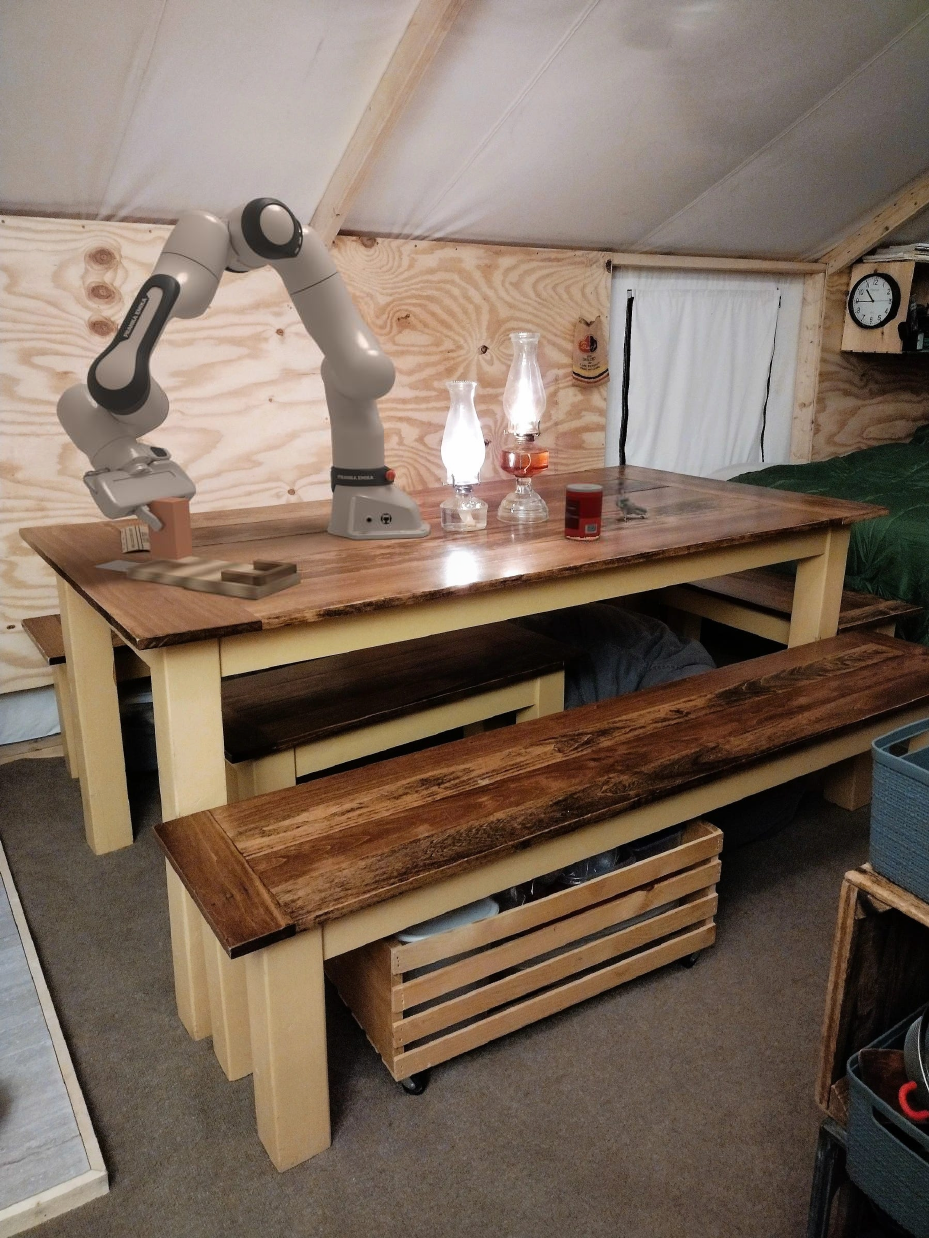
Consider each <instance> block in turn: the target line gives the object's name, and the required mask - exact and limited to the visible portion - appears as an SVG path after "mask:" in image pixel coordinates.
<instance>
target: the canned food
mask: <svg viewBox="0 0 929 1238" xmlns="http://www.w3.org/2000/svg"><path fill="white" fill-rule="evenodd" d="M603 494H604V487H603V486H602V485H600V484H594V483H593V484H592V483H572V484H567V485H566V488H565V505H564V507H565V508H564V531H563V532H564V536H565V535H566V536H570V537H580V538H584V537H585V538H586V537H596V536H599V535H600V536H601V530H602V528H601V527H602V515H603V514H602V513H603V498H604V497H603V496H604V495H603ZM600 536H599V537H600Z"/></svg>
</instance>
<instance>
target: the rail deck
mask: <svg viewBox="0 0 929 1238" xmlns="http://www.w3.org/2000/svg"><path fill="white" fill-rule="evenodd" d="M125 574H126V578H127V579H133V580H138V581H143V582H144V581H146V582H152V583H158V584H165V585H171V586H177V587H182V589H187V590H195V591H200V592H206V593H214V594H220V595H225V596H226V595H227V596H233V597H237V598H238V597H239V598H245V599H251V600H261V599H263V598H265V597H269V596H271V595H273V594H276V593H278V592H281V591H283V590H286V589H288V588H291V587H293V586H296V585H299V584H301V583H302V581H301V580H302V579H301V571H300V570H299V571H298V567H297V563H291V562H290V563H288V562H283V561H275V560H268V559H259V558H258V559H255V560H253V561H252V564H248V563H241V562H234V561H226V560H221V559H219V560H218V559H212V558H207V557H206V558H204V557H197V556H189V557H185V558H182V559H179V560H175V559H168V558H160V557H158V558H157V559H152V560H149V561H145V562H142V564H138V565H135V566H131V567H128V568H126V572H125Z"/></svg>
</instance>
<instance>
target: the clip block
mask: <svg viewBox="0 0 929 1238" xmlns="http://www.w3.org/2000/svg"><path fill="white" fill-rule="evenodd" d="M147 507H148V508H149V512H150V513H152V514H153V515H154V516H156V517H157V518H158V517H161V518H162V520H163V521H164V522H165V524H166V526H165V527H164V529H163V530H160V531H156V532H155V531H154V530H153V529H152V527H151V526H150V525H148V524H147V527H148V532H149V542H150V551H149V553H150V557H154V558H168V559H175V560H179V559H182V558H185V557H189V556H191V557H193V556H194V552H193V551H194V550H193V537H192V527H191V526H192V525H191V522H192V521H191V512H190V511H191V509H190V501H189V499H184V498H174V497H165V498H160V499H156V500H152V502H151V503H150V504H147Z"/></svg>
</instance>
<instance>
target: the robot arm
mask: <svg viewBox="0 0 929 1238" xmlns="http://www.w3.org/2000/svg"><path fill="white" fill-rule="evenodd" d="M267 266H269V267H270V268H272V269H274V271H276V273H277V274H278V275H279V277H280V278H281V281H282V282H283V285H284V287H285V290H286V291H287V294H288V296H289V298H290V300H291V301H292V304H293V306H294V308H295V310H296V312H297V314H298V316H299V318H300V320H301V322H302V325H303V326H304V329H305V330H306V332H307V333H308V334H309V336H310V337H311V338H312V340H313V341H314V342H315V344H316V345H317V347H318V348H319V350H320V351H321V353H322V354H323V355H324V357H323V358H322V360H321V364H320V369H319V370H320V377H321V380H322V382H323V386H324V394H325V399H326V405H327V410H328V411H327V412H328V415H329V422H330V428H331V429H330V430H331V448H332V449H331V453H332V454H331V455H332V465H331V467H330V489H331V493H332V499H331V501H332V502H331V511H330V517H329V522H328V527H327V528H326V529H327V530H326V532H327V533H329V534H331V535H335V536H340V537H345V538H347V539H351V540H357V541H358V540H374V539H375V540H380V539H381V540H382V539H408V538H409V539H412V538H413V539H414V538H423V537H427V536H428V535H430V534H431V531H432V529H431V525H430V523H429V522H426V521H423V520H422V517H421V511H420V507H419V504H418V503H417V501H416V500H415V499H414V498H413V497H411V495H409V494H408V493H406V492H405V491H404V490H403V489H402V488H400V487H399V486H397V484H395V479H396V472H395V470H394V469H393V468H392V467H391V468H390V467H388V466H387V465H386V464H385V429H384V426H383V423H382V420H381V417H380V413H379V409H378V403H377V400H379V399H381V398H383V397H384V396H386V395H387V394H389V393H390V392H391V390H392V388H393V387H394V384H395V382H396V377H397V376H396V375H397V374H396V367H395V365H394V363H393V361H392V359H391V358H390V357H389V356H388V355H387V353H386V352H385V350H383V348H382V347H381V345H380V343H379V341H378V340H377V338H376V336H375V335H374V333H373V332H372V330H371V329H370V327H369V326H368V324H367V323H366V322H365V320H364V318H363V316H362V315H361V314H360V312H359V310H358V308H357V307H356V305H355V304H356V303H355V302H354V300H353V298H352V296H351V294H350V292H349V289H348V288H347V285H346V283H345V282H344V278H343V277H342V275H341V273H340V271H339V269H338V267H337V264H336V262H335V261H334V259H333V256H332V254H331V253H330V252H329V250H328V248H327V247H326V245H325V243H324V241H323V240H322V239H321V237H320V235H319V234H318V233H317V231H316V230H315V229H314V228H313V227H311V226H310V225H307V224H305V223H304V224H302V223H301V222H300V221H299V220H298V218H296V216H295V214H294V213H293V212H292V211H291V209H290V208H289V207H288V206H287V205H286V204H285V203H284V202H283V201H280V200H279V199H277V198H273V197H259V198H255V199H253V200H251V201H249V202H246V203H245V202H244V203H243V204H241V205H237V206H236V207H234V208H233V209H232V210H231V211H230V212H228V213H226V214H225V215H223V216H221V217H217V216H216V215H215V214H212V213H210V212H208V211H206V210H201V209H200V210H199V209H193V210H188V211H186V212H185V213H184V214H183V215H182V216H181V217H180V219H179V220H178V221H177V223H176V224H175V226H174V227H173V229H172V231H171V232H170V233H169V235H168V237H167V239H166V241H165V243H164V246H163V247H162V249H161V252H160V254H159V256H158V259H157V261H156V264H155V266H154V268H153V271H152V272H151V275H150V276H149V278H148V279H147V280H146V281H144V283H143V285H142V286H141V287H140V289H139V291H138V292H137V295H136V296H135V298H134V299H133V301H132V304H131V306H130V307H129V309H128V311H127V312H126V314H125V317H124V318H123V320H122V323H121V324H120V327H119V328H118V330H117V332H116V334H115V335H114V337H113V339H112V340H111V341H110V342H111V343H110V344H109V345H107V347H106V348H105V349H104V350H103V351H102V352H101V353H100V354H98V356H97V357H96V358H95V359H94V360H93V361H92V363H91V364H90V366H89V369H88V372H87V375H86V383H75V384H74V385H71V386H69V388H68V389H66V390H65V391H64V392H63V393H62V395H60V397H59V399H58V402H57V404H56V416H57V419H58V421H59V423H60V425H61V427H62V428H63V430H64V431H65V433H66V435H67V436H68V437H69V439H70V441H71V442H72V443H73V444H74V445H75V447H76V448H77V449H78V450H79V451H80V452H81V453H83V454H84V455H85V456H86V457H87V458H88V460H89V463H90V465H91V467H92V468H93V469H94V470H88V471H86V472H85V473H84V475H82V476H83V477H82V483H83V484H84V485H85V487H86V488H87V490H89V494H90V496H91V498H92V499H93V501H94V503H95V504H96V506H97V508H98V509H99V510H100V513H102V515H103V516H104V517H106V519H107V518H108V519H109V520H111V521H113V520H117V519H122V518H127V517H131V516H135V517H136V518H137V519H138V520H140V521H141V522H143V523H145V524H147V526H148V525H150V526H151V527H152V529H153V530H154V531H155V532H156V531H160V530H163V529H164V527H165V526H166V524H165V522H164V521H163V520H162V518H161V517H158V518H157V517H156V516H154V515H153V514H152V513H150V512H149V508H148V507H147V504H150V503H151V502H152V500H156V499H160V498H165V497H174V498H184V499H189V502H191V500H192V499H193V498H194V496H195V495H196V494H197V487H196V485H195V483H194V482H193V480H192V479H191V477H190V476H189V475H188V474H187V473H186V472H185V470H184V469H183V468H182V467H181V465H179V464H178V463H177V462H176V461H173V460H171V458H172V454H171V452H170V451H169V450H168V449H167V448H164V447H160V446H155V445H149V444H146V443H144V442H139V441H138V440H137V439H139V438H141V437H142V436H145V435H147V434H148V433H150V432H152V431H154V430H155V429H157V428H159V427H160V426H161V425H162V424H163V423H164V422H165V420H166V419H167V417H168V414H169V410H170V403H169V398H168V396H167V394H166V392H165V390H163V388H162V387H161V385H160V384H159V383H158V381H156V379H155V378H154V377H153V375H152V373H151V366H150V365H151V358H152V355H153V353H154V351H155V350H156V348H157V346H158V343H159V341H160V339H161V337H162V335H163V333H164V331H165V330H166V328H167V325H168V324H169V323H170V321H171V320H173V319H174V318H176V319H179V320H191V319H192V320H193V319H196V318H199V317H200V316H202V315H204V314H205V312H206V311H207V310H208V308H209V307H210V306H211V304H212V301H213V300H214V298H215V296H216V293H217V291H218V288H219V286H220V283H221V280H222V277H223V274H224V271H225V272H228V273H233V274H245V273H248V272H251V271H255V270H258V269H262V268H265V267H267Z"/></svg>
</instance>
